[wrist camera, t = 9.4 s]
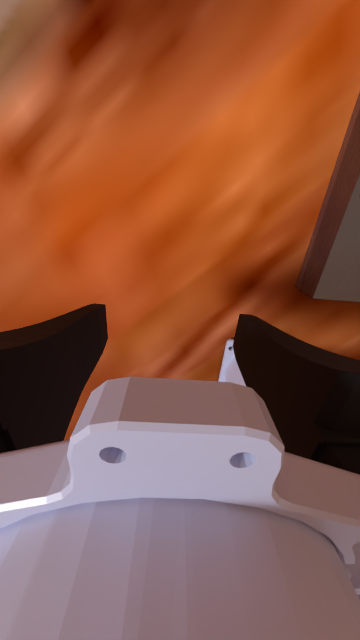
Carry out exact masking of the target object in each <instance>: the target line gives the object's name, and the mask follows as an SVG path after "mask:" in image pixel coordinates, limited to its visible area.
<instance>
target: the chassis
mask: <svg viewBox="0 0 360 640" xmlns="http://www.w3.org/2000/svg"><path fill="white" fill-rule="evenodd" d="M295 287H296V288H298V289H299V290H301V291H302V292H304V293H305V294H307V295H308V296H310V297H311V298H313V299H327V300H340V301H353V302H360V93H359V96H358V99H357V102H356V105H355V108H354V111H353V114H352V117H351V120H350V123H349V126H348V129H347V132H346V135H345V138H344V141H343V144H342V147H341V150H340V153H339V156H338V159H337V162H336V165H335V168H334V171H333V174H332V177H331V180H330V183H329V186H328V190H327V193H326V196H325V199H324V202H323V205H322V208H321V211H320V214H319V217H318V220H317V223H316V226H315V229H314V232H313V235H312V238H311V241H310V244H309V247H308V250H307V253H306V256H305V259H304V262H303V265H302V268H301V271H300V274H299V277H298V280H297V283H296V286H295Z"/></svg>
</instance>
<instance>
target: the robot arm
mask: <svg viewBox="0 0 360 640" xmlns="http://www.w3.org/2000/svg"><path fill="white" fill-rule="evenodd" d="M107 339H108V334H107V321H106V308H105V305H104V304H90V305H87V306H84V307H82V308H79V309H76V310H74V311H71V312H69V313H67V314H64V315H61V316H58V317H56V318H53V319H50V320H47V321H44V322H41V323H38V324H35V325H31V326H27V327H23V328H19V329H14V330H9V331H4V332H0V640H360V361H359V360H355V359H352V358H348V357H345V356H341V355H338V354H335V353H332V352H329V351H326V350H323V349H321V348H318V347H315V346H313V345H311V344H308V343H306V342H303V341H301V340H299V339H297V338H295V337H293V336H291V335H289V334H287V333H285V332H283V331H281V330H279V329H277V328H276V327H274V326H272V325H270V324H269V323H267V322H265V321H263V320H261V319H260V318H258V317H256V316H253V315H247V314H240V315H239V320H238V324H237V329H236V333H235V337H234V339H229V340H228V341H227V342H226V347H225V352H224V356H223V361H222V366H221V371H220V375H219V380H218V382H217V381H199V380H180V379H162V378H144V377H126V378H119V379H112V380H107V381H106V382H104V383H103V384H102V385H100V386H99V387H98V388H96V389H95V390H94V391H92V392H91V395H90V397H89V399H88V401H87V403H86V405H85V407H84V410H83V412H82V414H81V416H80V418H79V420H78V422H77V425H76V427H75V429H74V431H73V433H72V435H71V437H70V440H65V441H63V440H64V437H65V434H66V431H67V429H68V426H69V423H70V421H71V418H72V415H73V412H74V410H75V407H76V405H77V402H78V400H79V397H80V395H81V393H82V390H83V388H84V386H85V384H86V383H87V381H88V379H89V377H90V375H91V373H92V372H93V370H94V368H95V366H96V364H97V362H98V361H99V359H100V357H101V355H102V353H103V350H104V348H105V345H106V342H107ZM229 347H232V348H231V349H229Z"/></svg>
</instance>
